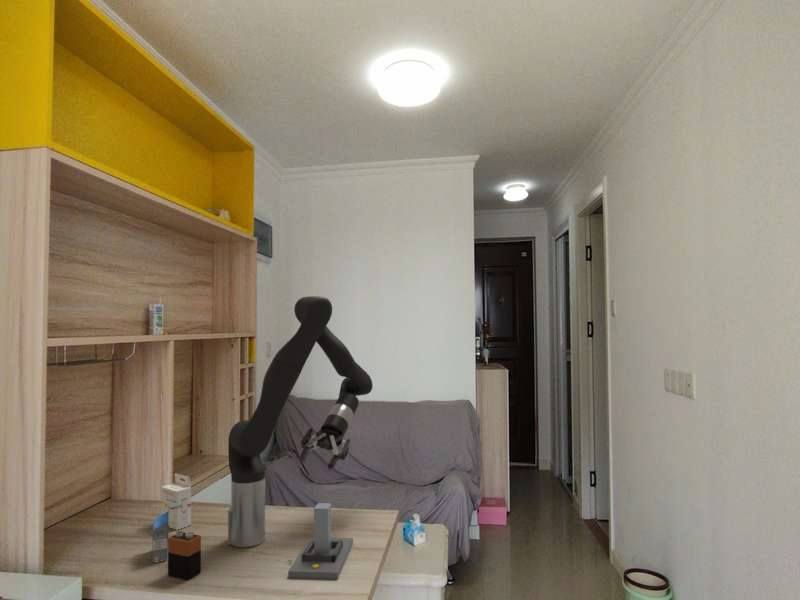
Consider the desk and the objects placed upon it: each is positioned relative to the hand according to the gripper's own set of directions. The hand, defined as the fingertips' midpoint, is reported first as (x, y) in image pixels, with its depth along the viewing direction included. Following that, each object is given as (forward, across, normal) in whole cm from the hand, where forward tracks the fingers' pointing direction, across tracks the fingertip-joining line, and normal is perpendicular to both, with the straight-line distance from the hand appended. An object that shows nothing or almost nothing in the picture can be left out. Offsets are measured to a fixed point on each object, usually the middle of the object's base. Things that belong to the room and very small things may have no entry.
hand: (315, 463), depth 147 cm
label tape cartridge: (+34, -30, +9) cm, 46 cm away
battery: (+38, -17, +1) cm, 42 cm away
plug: (+22, +12, +4) cm, 25 cm away
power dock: (+22, +12, +5) cm, 26 cm away
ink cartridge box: (+20, -40, +22) cm, 50 cm away
